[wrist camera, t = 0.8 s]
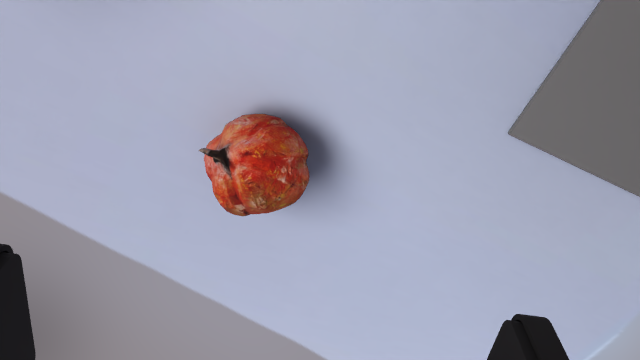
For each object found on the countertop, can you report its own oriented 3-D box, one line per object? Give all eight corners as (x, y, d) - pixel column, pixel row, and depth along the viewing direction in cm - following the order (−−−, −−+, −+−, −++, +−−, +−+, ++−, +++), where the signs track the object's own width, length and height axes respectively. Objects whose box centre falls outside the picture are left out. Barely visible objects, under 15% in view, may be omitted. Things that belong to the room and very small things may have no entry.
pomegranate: (324, 123, 42) (246, 70, 34) (350, 205, 39) (271, 168, 31) (252, 164, 45) (164, 125, 37) (271, 243, 42) (179, 220, 34)
